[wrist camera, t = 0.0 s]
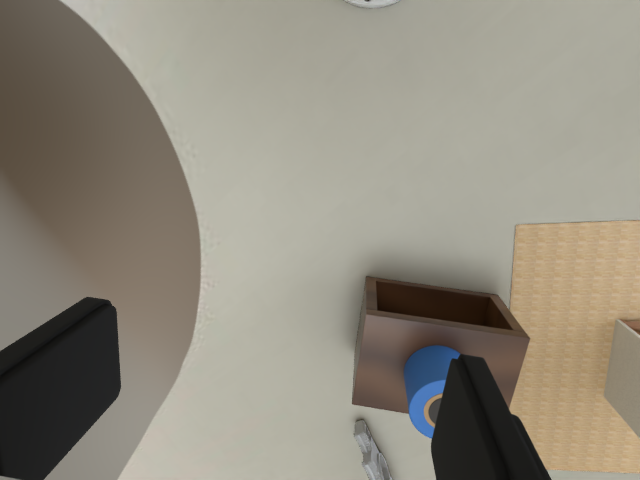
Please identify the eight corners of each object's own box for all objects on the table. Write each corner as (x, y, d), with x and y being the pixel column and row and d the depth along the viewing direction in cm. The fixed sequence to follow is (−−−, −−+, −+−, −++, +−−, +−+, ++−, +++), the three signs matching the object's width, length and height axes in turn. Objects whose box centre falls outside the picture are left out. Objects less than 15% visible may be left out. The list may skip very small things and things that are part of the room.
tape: (409, 340, 40) (416, 375, 34) (476, 350, 39) (493, 387, 34) (398, 394, 42) (403, 436, 36) (462, 405, 41) (476, 448, 36)
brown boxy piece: (366, 276, 49) (365, 314, 39) (498, 294, 48) (530, 338, 38) (354, 352, 52) (351, 404, 43) (477, 371, 51) (503, 429, 41)
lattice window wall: (353, 419, 55) (351, 453, 50) (365, 416, 55) (364, 450, 49) (384, 483, 58) (386, 523, 52) (396, 481, 58) (399, 520, 52)
